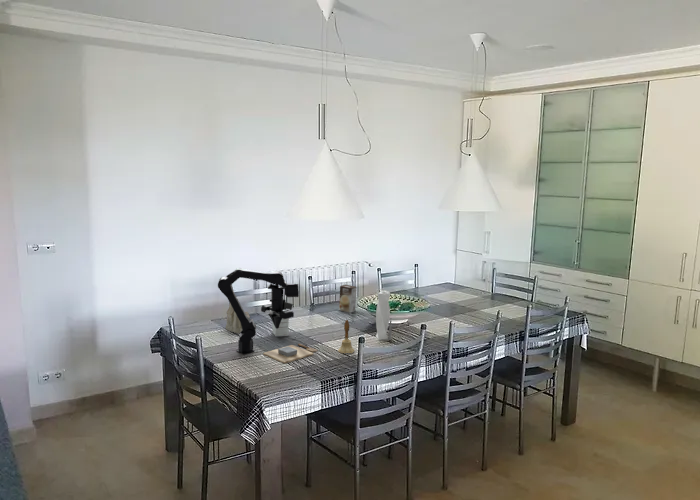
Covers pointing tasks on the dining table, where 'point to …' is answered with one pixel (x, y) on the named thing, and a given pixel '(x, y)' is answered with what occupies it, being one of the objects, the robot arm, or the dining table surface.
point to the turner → (308, 348)
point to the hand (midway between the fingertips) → (277, 328)
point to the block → (287, 351)
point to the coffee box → (347, 298)
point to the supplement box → (281, 328)
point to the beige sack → (234, 321)
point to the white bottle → (383, 316)
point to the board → (284, 359)
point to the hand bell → (346, 341)
